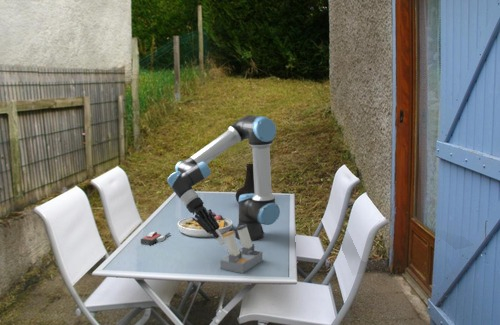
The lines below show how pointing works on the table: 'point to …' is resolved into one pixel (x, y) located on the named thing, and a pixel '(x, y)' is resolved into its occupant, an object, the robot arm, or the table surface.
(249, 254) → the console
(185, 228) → the bowl
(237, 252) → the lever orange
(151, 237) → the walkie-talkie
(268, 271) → the table surface
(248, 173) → the glass bottle
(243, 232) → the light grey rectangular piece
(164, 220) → the table surface
